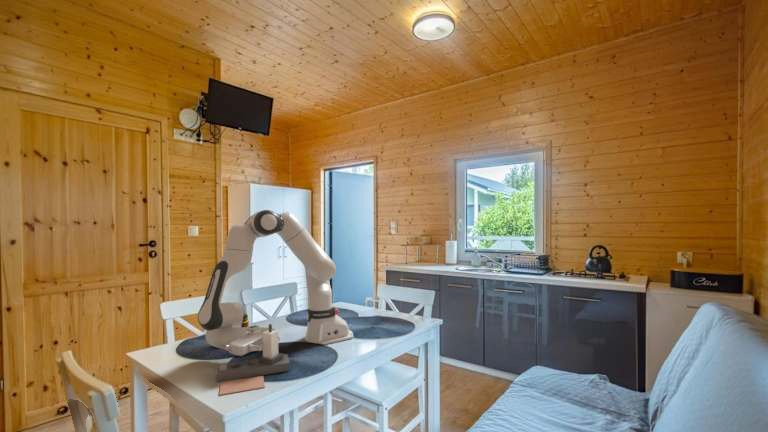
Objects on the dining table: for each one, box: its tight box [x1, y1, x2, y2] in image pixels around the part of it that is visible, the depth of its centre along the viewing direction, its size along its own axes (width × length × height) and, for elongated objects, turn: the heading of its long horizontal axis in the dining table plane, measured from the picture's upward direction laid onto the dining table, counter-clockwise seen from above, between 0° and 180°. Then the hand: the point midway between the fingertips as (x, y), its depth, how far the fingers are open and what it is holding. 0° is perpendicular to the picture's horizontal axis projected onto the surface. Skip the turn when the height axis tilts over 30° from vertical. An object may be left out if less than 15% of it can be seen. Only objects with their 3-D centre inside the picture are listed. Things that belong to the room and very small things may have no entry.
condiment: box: [241, 313, 250, 327], centre depth 168 cm, size 7×8×12 cm
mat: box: [218, 375, 266, 397], centre depth 125 cm, size 14×9×1 cm, turn 111°
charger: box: [262, 323, 279, 359], centre depth 138 cm, size 4×4×14 cm
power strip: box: [215, 352, 291, 383], centre depth 136 cm, size 25×9×5 cm, turn 111°
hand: (270, 343), depth 138 cm, fingers open, 8 cm apart
